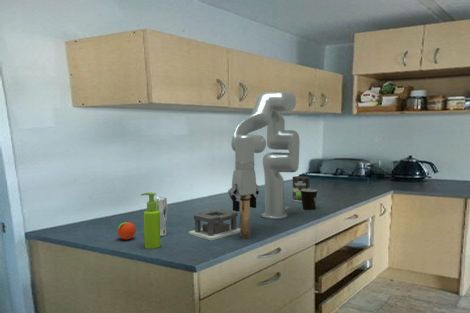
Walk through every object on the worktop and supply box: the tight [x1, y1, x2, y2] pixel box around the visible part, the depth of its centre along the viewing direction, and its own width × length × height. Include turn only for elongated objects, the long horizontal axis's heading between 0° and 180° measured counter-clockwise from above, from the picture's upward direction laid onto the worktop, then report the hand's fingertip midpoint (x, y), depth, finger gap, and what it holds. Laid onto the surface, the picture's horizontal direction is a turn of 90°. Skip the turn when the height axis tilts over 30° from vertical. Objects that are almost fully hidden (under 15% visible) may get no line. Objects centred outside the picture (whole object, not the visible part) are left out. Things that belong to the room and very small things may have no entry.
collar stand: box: [188, 208, 240, 241], centre depth 161 cm, size 18×14×8 cm
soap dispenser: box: [140, 192, 162, 250], centre depth 143 cm, size 6×7×20 cm
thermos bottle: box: [239, 194, 251, 239], centre depth 154 cm, size 4×4×18 cm
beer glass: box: [154, 197, 168, 237], centre depth 158 cm, size 7×7×15 cm
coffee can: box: [291, 175, 311, 203], centre depth 232 cm, size 10×10×14 cm
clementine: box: [116, 221, 137, 240], centre depth 152 cm, size 8×7×7 cm
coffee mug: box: [301, 188, 318, 211], centre depth 206 cm, size 12×9×10 cm
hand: (244, 209), depth 154 cm, fingers open, 9 cm apart
